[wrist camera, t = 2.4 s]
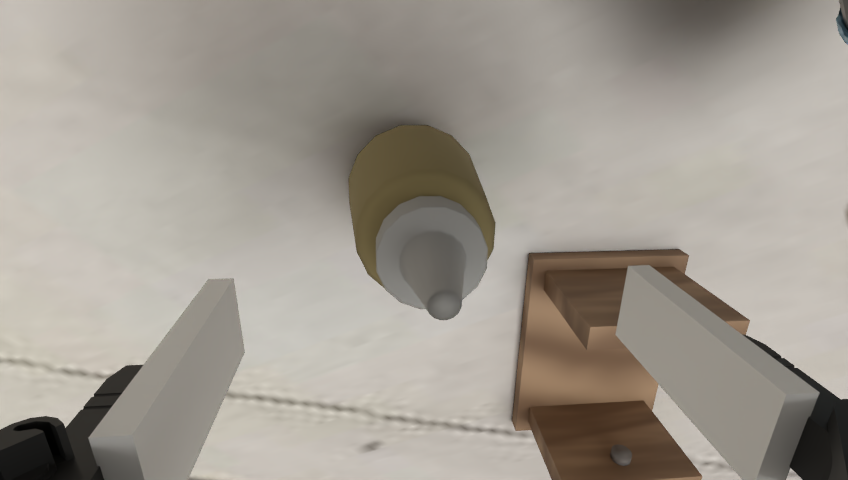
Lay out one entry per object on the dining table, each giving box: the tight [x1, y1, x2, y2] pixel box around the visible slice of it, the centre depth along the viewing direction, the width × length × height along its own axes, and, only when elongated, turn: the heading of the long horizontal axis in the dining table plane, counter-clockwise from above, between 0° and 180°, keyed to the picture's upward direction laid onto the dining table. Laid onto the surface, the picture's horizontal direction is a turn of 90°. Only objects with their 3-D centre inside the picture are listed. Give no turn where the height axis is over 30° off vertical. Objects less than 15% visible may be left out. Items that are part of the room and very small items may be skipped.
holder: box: [512, 249, 750, 480], centre depth 34 cm, size 16×12×9 cm
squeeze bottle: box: [349, 125, 495, 320], centre depth 24 cm, size 8×8×18 cm
